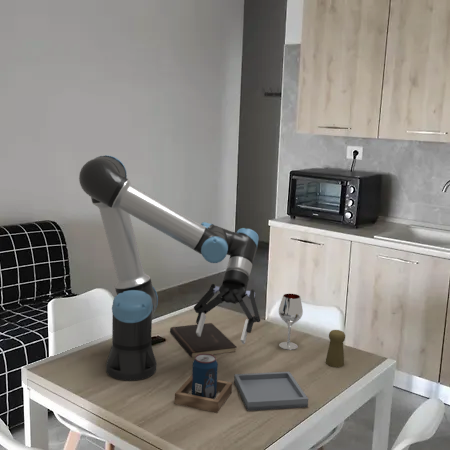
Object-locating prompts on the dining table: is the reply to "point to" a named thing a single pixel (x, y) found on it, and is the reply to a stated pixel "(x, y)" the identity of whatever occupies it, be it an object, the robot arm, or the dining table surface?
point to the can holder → (203, 402)
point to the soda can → (204, 376)
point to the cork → (335, 349)
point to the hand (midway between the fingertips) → (220, 338)
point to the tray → (270, 391)
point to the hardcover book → (202, 340)
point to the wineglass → (290, 316)
